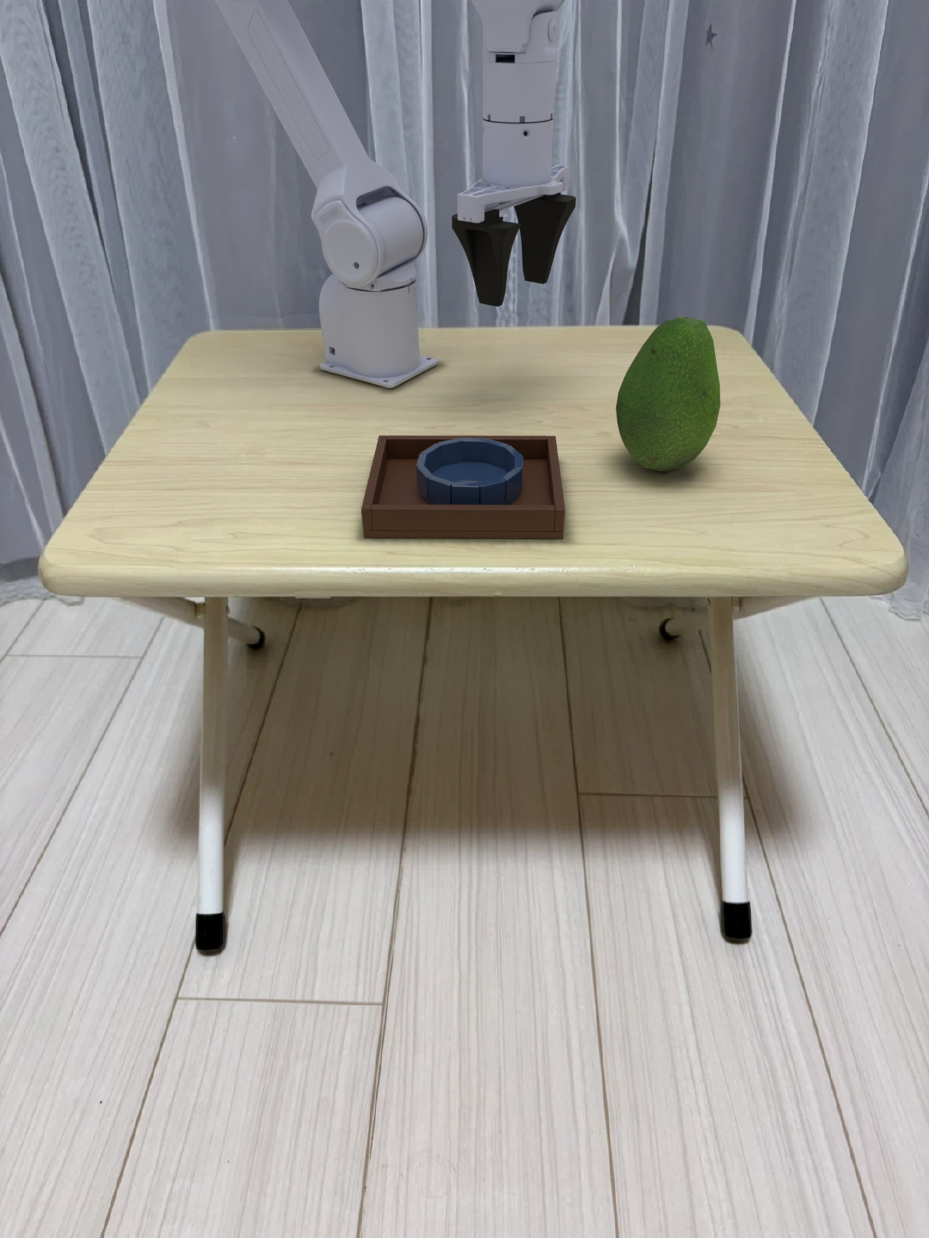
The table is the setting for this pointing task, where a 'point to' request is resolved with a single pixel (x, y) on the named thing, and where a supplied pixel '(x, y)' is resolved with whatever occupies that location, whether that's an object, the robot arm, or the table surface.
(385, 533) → the tray
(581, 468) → the table surface
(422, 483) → the blue faceted bowl
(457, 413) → the table surface
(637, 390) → the fruit
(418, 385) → the table surface
